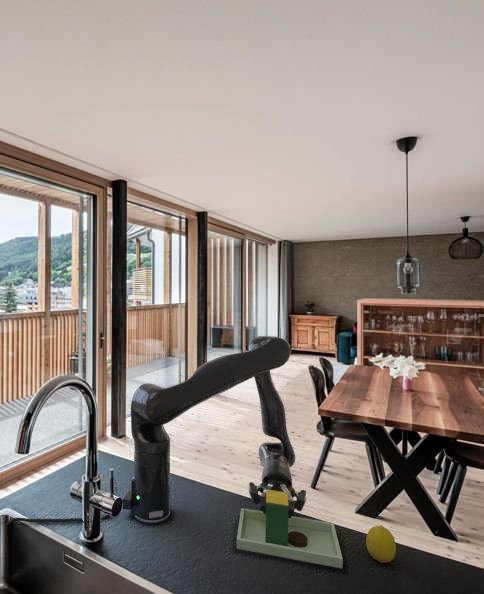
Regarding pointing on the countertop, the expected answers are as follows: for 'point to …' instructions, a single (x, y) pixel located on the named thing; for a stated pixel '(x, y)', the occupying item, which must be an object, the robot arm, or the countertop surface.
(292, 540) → the brown round disc
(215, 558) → the countertop surface
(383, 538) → the lemon
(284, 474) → the robot arm
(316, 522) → the tray
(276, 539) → the sponge
